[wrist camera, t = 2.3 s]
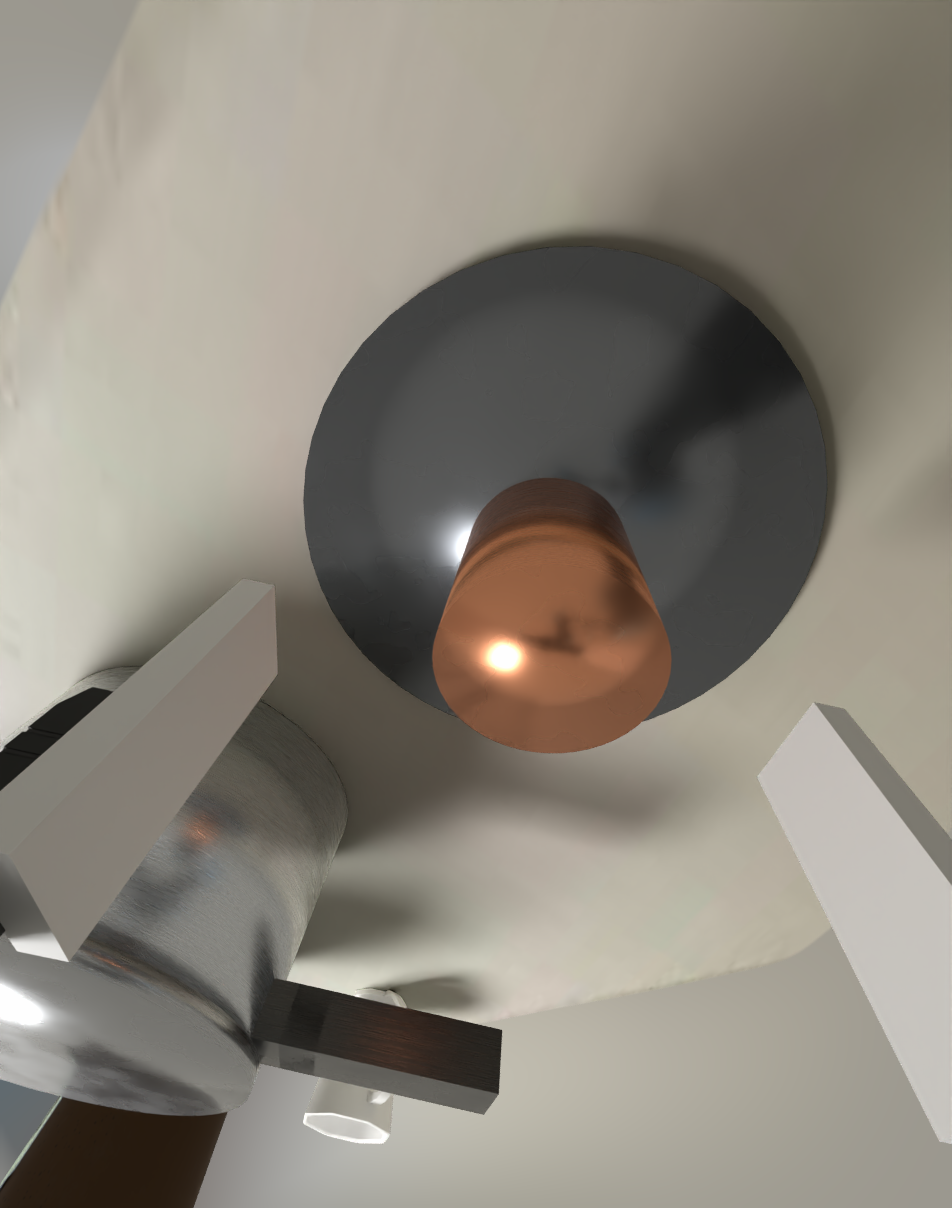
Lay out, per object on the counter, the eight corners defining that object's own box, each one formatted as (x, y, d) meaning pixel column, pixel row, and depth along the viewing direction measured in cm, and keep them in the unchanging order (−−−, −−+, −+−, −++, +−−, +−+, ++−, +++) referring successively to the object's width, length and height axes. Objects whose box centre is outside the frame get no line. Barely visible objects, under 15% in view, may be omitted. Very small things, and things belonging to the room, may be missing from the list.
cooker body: (547, 749, 24) (552, 1063, 14) (478, 924, 34) (451, 1186, 24) (7, 626, 24) (-383, 849, 14) (92, 836, 34) (-102, 1059, 24)
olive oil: (288, 915, 37) (-67, 1749, 15) (299, 976, 42) (49, 1650, 21) (156, 890, 37) (-370, 1666, 16) (184, 953, 42) (-177, 1591, 21)
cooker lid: (944, 327, 14) (1329, 331, 7) (679, 756, 24) (735, 930, 17) (317, 186, 14) (104, 58, 7) (312, 672, 24) (220, 812, 17)
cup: (325, 994, 43) (285, 1121, 37) (380, 962, 39) (345, 1100, 32) (389, 1022, 45) (362, 1149, 38) (449, 994, 40) (430, 1133, 33)
